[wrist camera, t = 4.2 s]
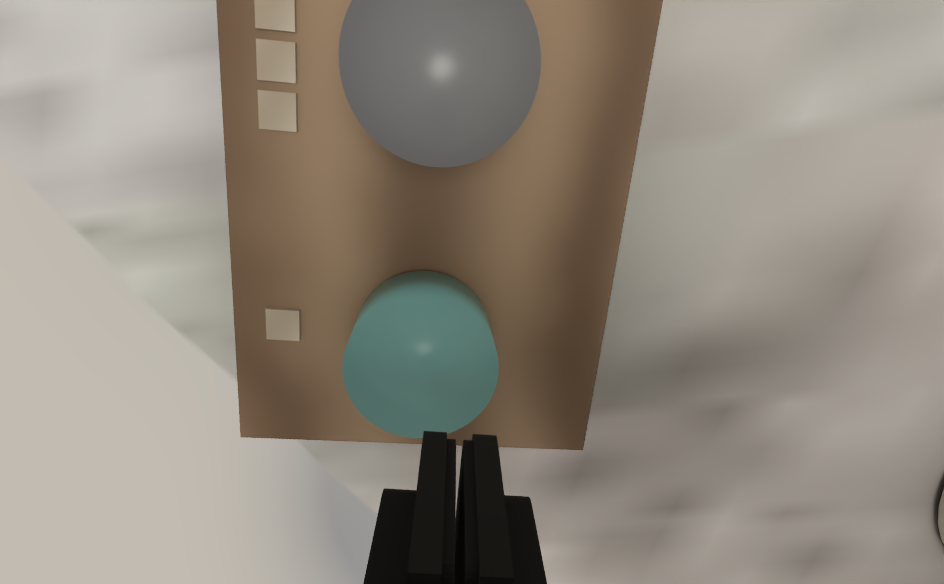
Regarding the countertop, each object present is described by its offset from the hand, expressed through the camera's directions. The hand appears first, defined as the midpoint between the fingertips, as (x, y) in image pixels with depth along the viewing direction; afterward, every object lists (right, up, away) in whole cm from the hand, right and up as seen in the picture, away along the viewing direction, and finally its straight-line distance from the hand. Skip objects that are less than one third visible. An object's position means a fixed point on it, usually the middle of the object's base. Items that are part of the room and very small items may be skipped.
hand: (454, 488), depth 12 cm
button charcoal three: (-1, +11, +4) cm, 12 cm away
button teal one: (-1, +3, +8) cm, 8 cm away
